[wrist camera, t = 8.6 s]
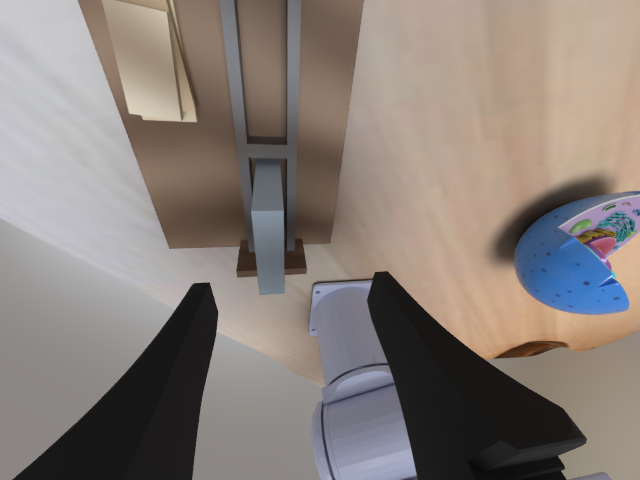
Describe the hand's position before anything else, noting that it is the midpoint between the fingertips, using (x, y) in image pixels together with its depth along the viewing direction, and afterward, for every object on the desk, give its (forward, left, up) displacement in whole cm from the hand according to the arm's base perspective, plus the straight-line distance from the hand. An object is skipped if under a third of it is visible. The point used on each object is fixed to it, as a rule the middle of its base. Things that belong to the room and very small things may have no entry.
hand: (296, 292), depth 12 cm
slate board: (0, +1, -9) cm, 9 cm away
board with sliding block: (+4, +3, -10) cm, 11 cm away
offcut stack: (+8, +7, -9) cm, 14 cm away
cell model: (-4, -27, -11) cm, 29 cm away
